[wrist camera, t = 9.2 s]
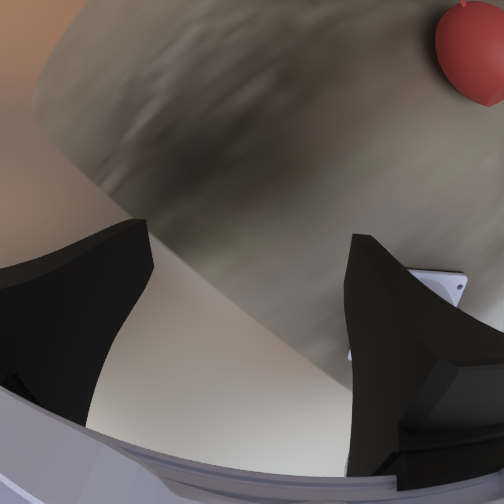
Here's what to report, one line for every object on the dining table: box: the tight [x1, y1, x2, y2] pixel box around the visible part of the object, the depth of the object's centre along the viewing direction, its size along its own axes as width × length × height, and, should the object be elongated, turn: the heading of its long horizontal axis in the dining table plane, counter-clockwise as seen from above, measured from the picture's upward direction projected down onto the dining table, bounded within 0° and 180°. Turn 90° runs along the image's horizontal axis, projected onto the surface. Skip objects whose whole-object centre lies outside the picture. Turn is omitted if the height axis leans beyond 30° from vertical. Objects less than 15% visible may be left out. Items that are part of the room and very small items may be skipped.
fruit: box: [435, 0, 504, 107], centre depth 10 cm, size 6×6×8 cm
